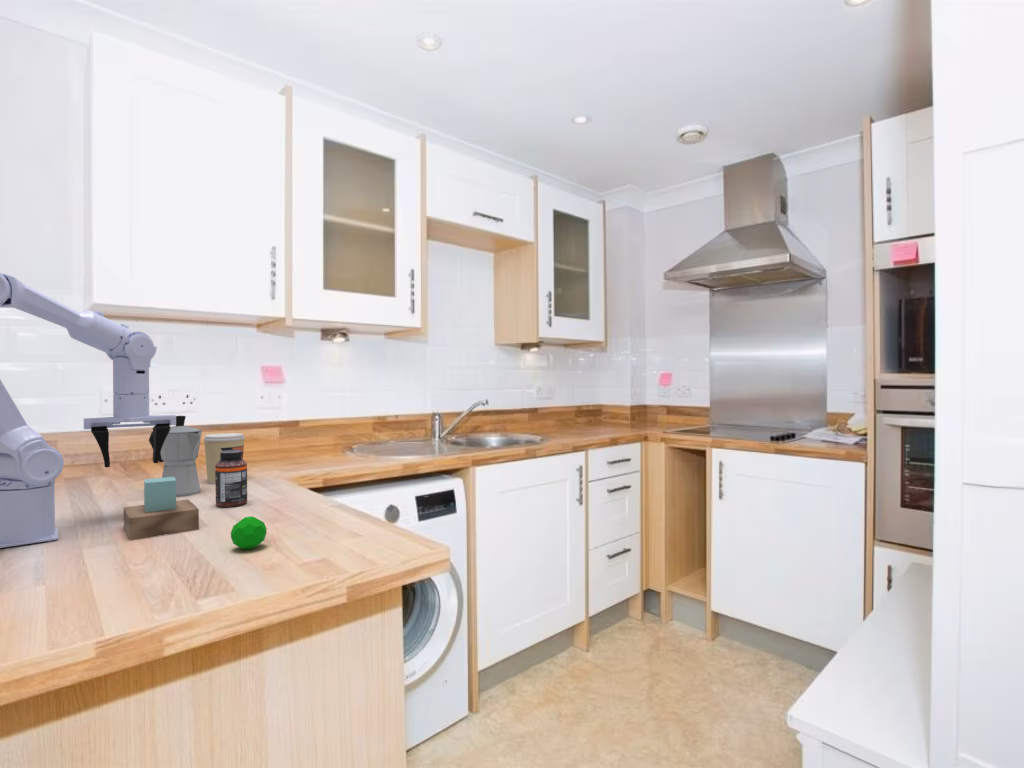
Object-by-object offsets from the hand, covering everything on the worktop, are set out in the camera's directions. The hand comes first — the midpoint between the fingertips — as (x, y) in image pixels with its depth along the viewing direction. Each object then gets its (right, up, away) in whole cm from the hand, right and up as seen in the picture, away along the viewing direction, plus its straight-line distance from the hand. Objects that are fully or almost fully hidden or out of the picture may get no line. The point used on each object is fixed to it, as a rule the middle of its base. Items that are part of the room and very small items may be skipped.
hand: (132, 464), depth 105 cm
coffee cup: (-1, -10, +36) cm, 37 cm away
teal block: (+11, -6, -9) cm, 16 cm away
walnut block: (+11, -10, -9) cm, 18 cm away
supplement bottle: (+14, -10, +9) cm, 20 cm away
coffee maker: (-4, -10, +21) cm, 24 cm away
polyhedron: (+32, -10, -20) cm, 39 cm away
